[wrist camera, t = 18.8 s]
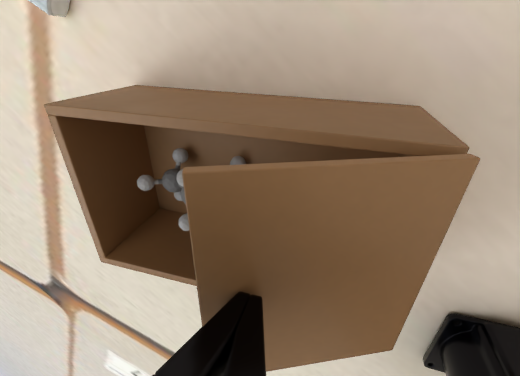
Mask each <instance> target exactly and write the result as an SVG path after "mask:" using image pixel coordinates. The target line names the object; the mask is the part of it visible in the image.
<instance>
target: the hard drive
mask: <svg viewBox="0 0 520 376" xmlns="http://www.w3.org/2000/svg"><path fill="white" fill-rule="evenodd" d="M28 1H30V2H31V3H33V4H34V5H36V6H37V7H39V8H40V9H41V10H43V11H44V12H46V13H47V14H48V15H53V16H62V17H65V16H66V14H67V12H68V9H69V4H70V0H28Z"/></svg>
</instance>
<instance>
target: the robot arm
mask: <svg viewBox="0 0 520 376" xmlns="http://www.w3.org/2000/svg"><path fill="white" fill-rule="evenodd" d="M423 362H424V365H425V366H426V367H428V368H431V369H434V370H438V371H442V372H445V373H446V376H520V328H518V327H513V326H509V325H504V324H500V323H495V322H491V321H486V320H482V319H478V318H473V317H469V316H464V315H460V314H450V315H448V316H447V317H446V319H445V321H444V322H443V324H442V326H441V328H440V329H439V331H438V333H437V335H436V336H435V338H434V340H433V342H432V343H431V345H430V347H429V349H428V350H427V352H426V354H425V356H424V357H423ZM152 376H266V364H265V342H264V321H263V300H262V297H261V296H258V295H254V294H252V295H250V294H249V293H246V292H242V291H240V292H238V293H237V294H236V295H235V296H234V297H232V298H231V299H230V300H229V301H228V302H227V303H226V304H225V305H224V306H223V307H222V308H221V309H220V310H219V311H218V312H217V313H216V314H215V315H214V316H213V317H212V318H211V319H210V320H209V321H208V322H207V323H206V324H205V325H204V326H203V327H202V328H201V329H200V330H199V331H198V332H197V333H196V334H194V335H193V336H192V337H191V338H190V339H189V340H188V341H187V342H186V343H185V344H184V345H183V346H182V347H181V348H180V349H179V350H178V351H177V352H176V353H175V354H174V355H173V356H172V357H171V358H170V359H169V360H168V361H167V362H166V363H165V364H164V365H163V366H162V367H161V368H160V369H159V370H158V371H156V373H155V375H152Z"/></svg>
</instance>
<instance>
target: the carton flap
mask: <svg viewBox="0 0 520 376" xmlns="http://www.w3.org/2000/svg"><path fill="white" fill-rule="evenodd" d="M479 161H480V158H478V157H476V156H474V155H472V154H455V155H434V156H412V157H391V158H369V159H348V160H326V161H305V162H283V163H262V164H240V165H219V166H198V167H184V168H183V171H182V178H183V186H184V193H185V201H186V208H187V216H188V223H189V231H190V238H191V246H192V253H193V261H194V268H195V275H196V283H197V290H198V298H199V305H200V313H201V320H202V327H203V326H204V325H205V324H206V323H207V322H208V321H209V320H210V319H211V318H212V317H213V316H214V315H215V314H216V313H217V312H218V311H219V310H220V309H221V308H222V307H223V306H224V305H225V304H226V303H227V302H228V301H229V300H230V299H231V298H232V297H234V296H235V295H236V294H237V293H238V292H240V291H242V292H246V293H249V294H250V295H252V294H254V295H258V296H261V297H262V300H263V321H264V342H265V364H266V371H272V370H278V369H284V368H290V367H296V366H302V365H307V364H313V363H319V362H325V361H331V360H337V359H343V358H349V357H355V356H360V355H366V354H372V353H378V352H384V351H390V350H392V349H393V347H394V345H395V343H396V341H397V338H398V336H399V334H400V332H401V330H402V328H403V325H404V323H405V321H406V319H407V317H408V315H409V312H410V310H411V308H412V306H413V304H414V302H415V299H416V297H417V295H418V293H419V291H420V289H421V286H422V284H423V282H424V280H425V278H426V276H427V273H428V271H429V269H430V267H431V265H432V263H433V260H434V258H435V256H436V254H437V252H438V250H439V247H440V245H441V243H442V241H443V239H444V236H445V234H446V232H447V230H448V228H449V226H450V223H451V221H452V219H453V217H454V215H455V213H456V210H457V208H458V206H459V204H460V202H461V200H462V197H463V195H464V193H465V191H466V189H467V187H468V184H469V182H470V180H471V178H472V176H473V174H474V171H475V169H476V167H477V165H478V163H479Z"/></svg>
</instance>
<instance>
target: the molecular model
mask: <svg viewBox="0 0 520 376" xmlns="http://www.w3.org/2000/svg"><path fill="white" fill-rule="evenodd" d="M172 157H173V159H174V161H175V162H176V166H175V169H169V170H168V171H166V172H165V173H164V175H163V177H162V179H156V180H154V179H153V177H151V176H150V175H142V176H140V177H139V178H138V180H137V186H138V187H139V188H140V189H141V190H143V191H147V190H151V189H152V188H153V187H154V184H163V186H164V188H165V189H166V190H168V191H169V192H174V197H175V198H176V199H177V200H178V201H183V202H184V203H185V204H186V201H185V193H184V186H183V178H182V171H183V169H182V170H180V166H181V163H184V162H186V161H187V160H188V152H187V151H186V150H185V149H183V148H177V149H176V150H174V151H173V156H172ZM240 164H246V161H245V159H244V158H243V157H241V156H235V157H233V158H232V160H231V161H230V165H240ZM179 227H180V228H181V229H182V230H183V231H189V223H188V216H187V214H184V215H182V216H181V217H180V218H179Z"/></svg>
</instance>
